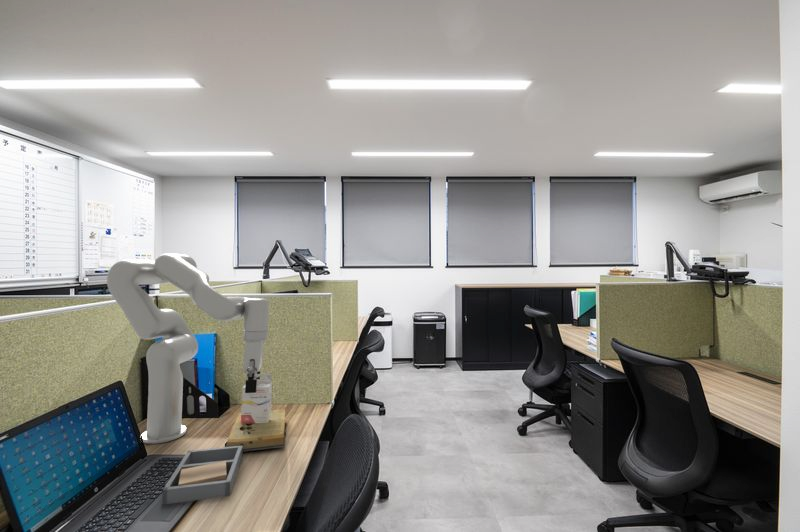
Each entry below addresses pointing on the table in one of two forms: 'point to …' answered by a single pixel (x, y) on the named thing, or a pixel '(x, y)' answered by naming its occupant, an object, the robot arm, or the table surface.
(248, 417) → the ink cartridge box
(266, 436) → the book
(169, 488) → the rack
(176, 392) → the robot arm
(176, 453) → the table surface
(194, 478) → the offcut top
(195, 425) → the table surface
